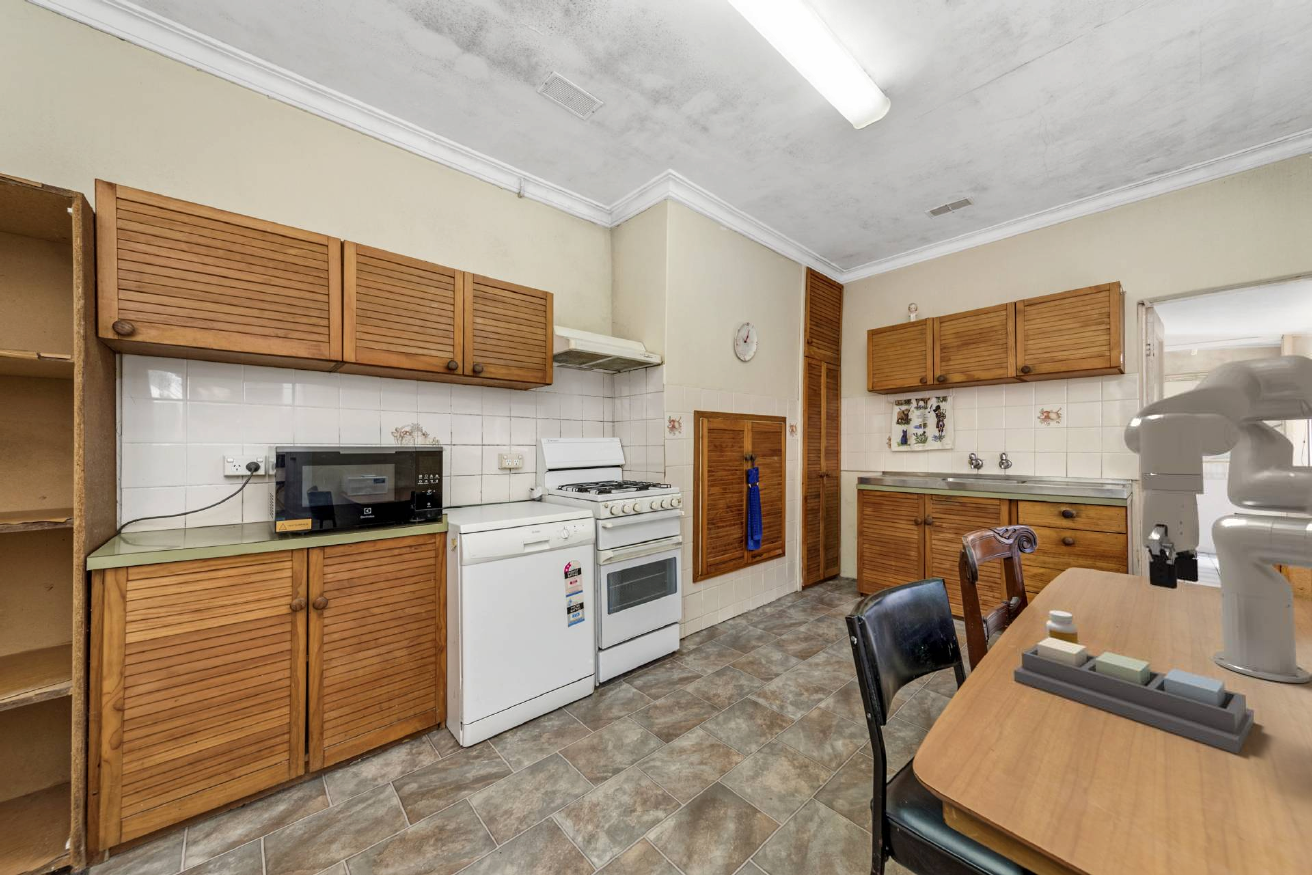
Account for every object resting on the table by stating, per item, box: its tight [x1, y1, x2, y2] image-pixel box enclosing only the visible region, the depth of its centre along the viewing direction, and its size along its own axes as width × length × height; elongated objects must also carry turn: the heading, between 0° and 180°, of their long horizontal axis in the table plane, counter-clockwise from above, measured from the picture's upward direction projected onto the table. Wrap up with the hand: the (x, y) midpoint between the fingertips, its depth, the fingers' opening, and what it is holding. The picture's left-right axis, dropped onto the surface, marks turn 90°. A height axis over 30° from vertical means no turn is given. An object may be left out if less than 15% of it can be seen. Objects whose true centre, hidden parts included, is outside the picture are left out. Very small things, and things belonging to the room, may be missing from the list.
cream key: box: [1036, 637, 1087, 667], centre depth 98 cm, size 6×6×3 cm
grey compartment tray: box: [1013, 644, 1255, 755], centre depth 90 cm, size 15×29×5 cm, turn 33°
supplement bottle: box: [1045, 610, 1079, 645], centre depth 108 cm, size 5×5×10 cm
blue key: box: [1164, 668, 1226, 707], centre depth 83 cm, size 6×6×3 cm
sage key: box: [1095, 651, 1151, 686], centre depth 90 cm, size 6×6×3 cm
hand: (1174, 583), depth 85 cm, fingers open, 9 cm apart
